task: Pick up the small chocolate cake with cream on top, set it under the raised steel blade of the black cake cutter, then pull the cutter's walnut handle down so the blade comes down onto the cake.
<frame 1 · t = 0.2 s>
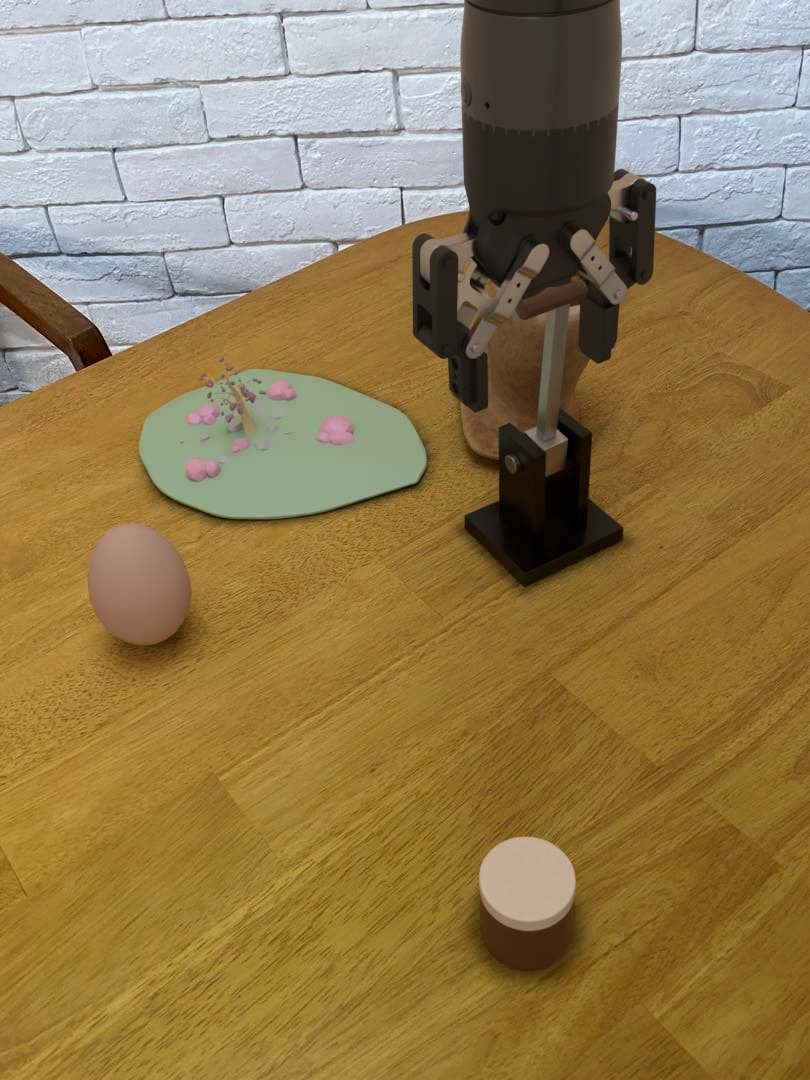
hand: (535, 379, 65), 21 cm above the table, tool pointing down, fingers open, 8 cm apart
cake: (526, 927, 62), on the table
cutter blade: (551, 381, 76), point 14 cm above the table, hinge at 85.0°
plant: (286, 445, 97), on the table
cutter: (542, 534, 86), on the table
stone cup: (528, 420, 98), on the table
seashell: (540, 282, 116), on the table
egg: (154, 635, 81), on the table
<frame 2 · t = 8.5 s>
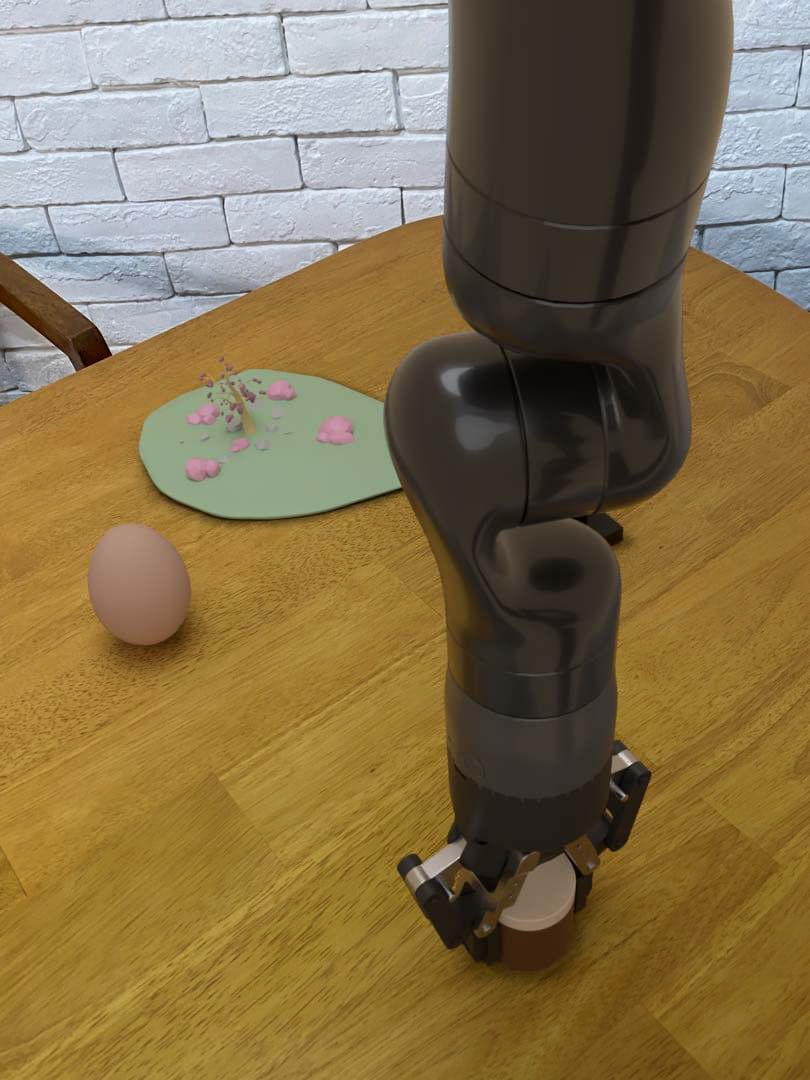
hand: (525, 923, 62), 0 cm above the table, tool pointing down, fingers closed on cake, 5 cm apart
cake: (526, 927, 62), on the table, touching gripper
everything else where it was.
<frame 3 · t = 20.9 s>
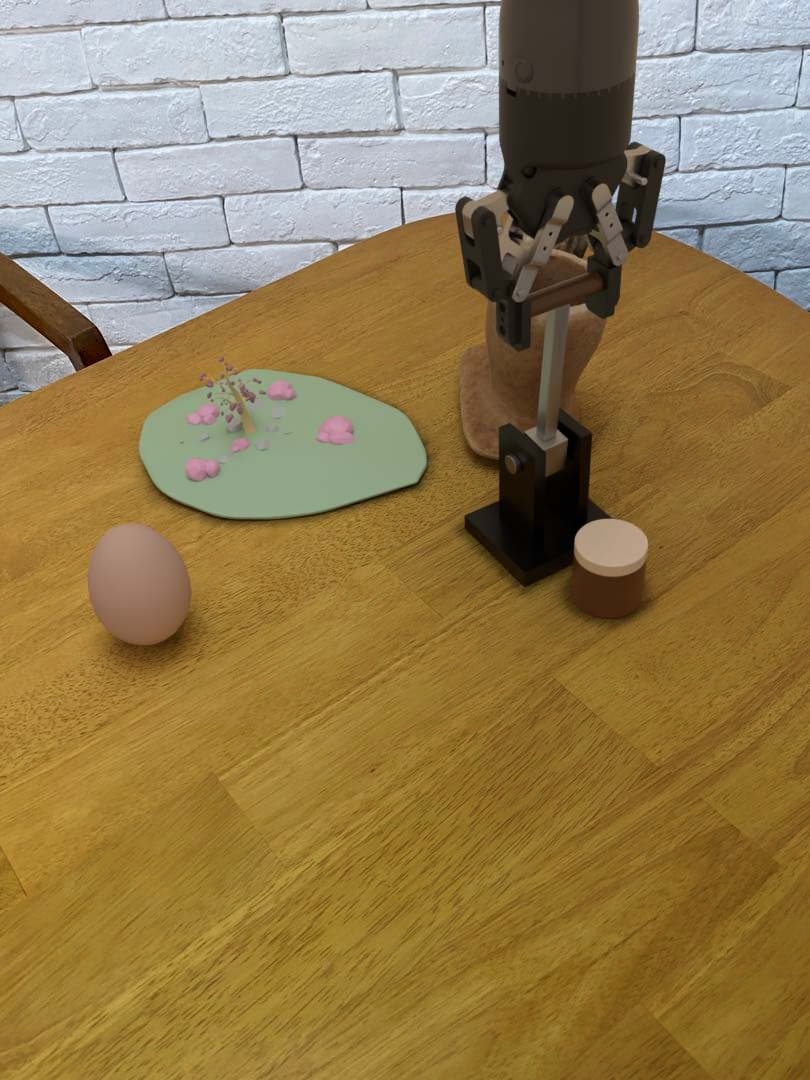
hand: (558, 328, 73), 19 cm above the table, tool pointing down, fingers closed on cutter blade, 6 cm apart
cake: (607, 594, 81), on the table
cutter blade: (551, 381, 76), point 14 cm above the table, hinge at 85.0°, touching gripper
everything else where it was.
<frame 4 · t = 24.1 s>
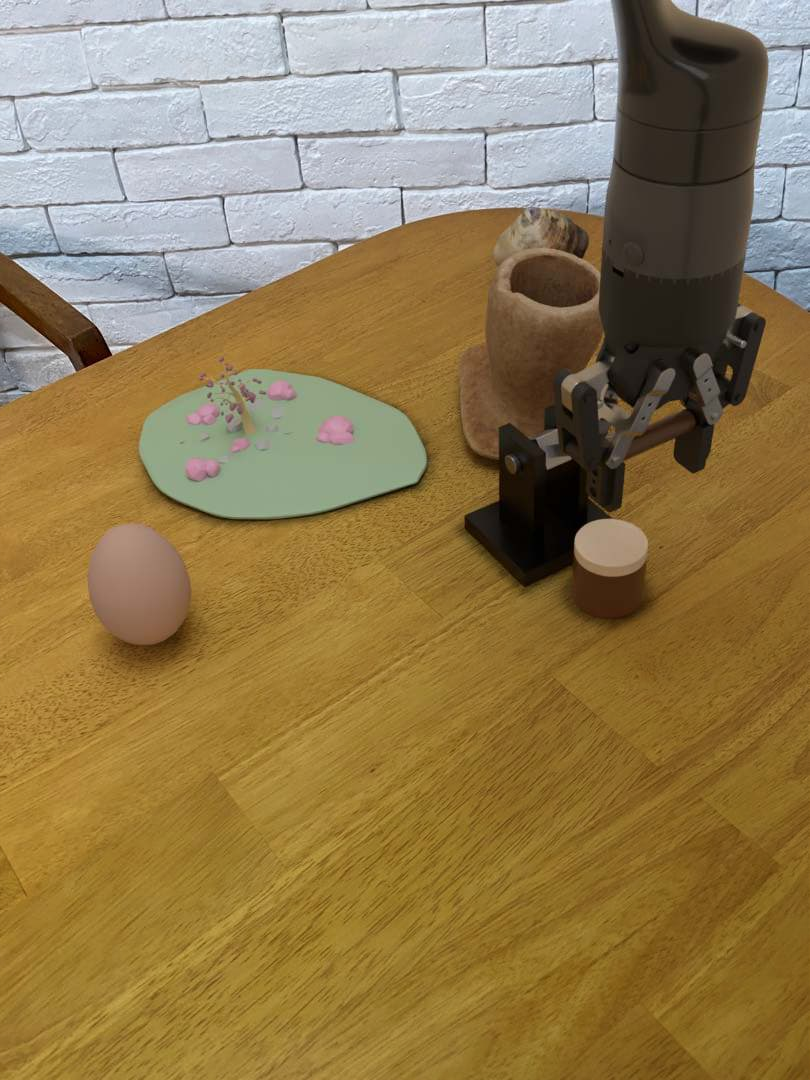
hand: (647, 483, 71), 12 cm above the table, tool pointing down, fingers closed on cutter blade, 6 cm apart
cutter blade: (590, 444, 75), point 12 cm above the table, hinge at 35.3°, touching gripper
everything else where it was.
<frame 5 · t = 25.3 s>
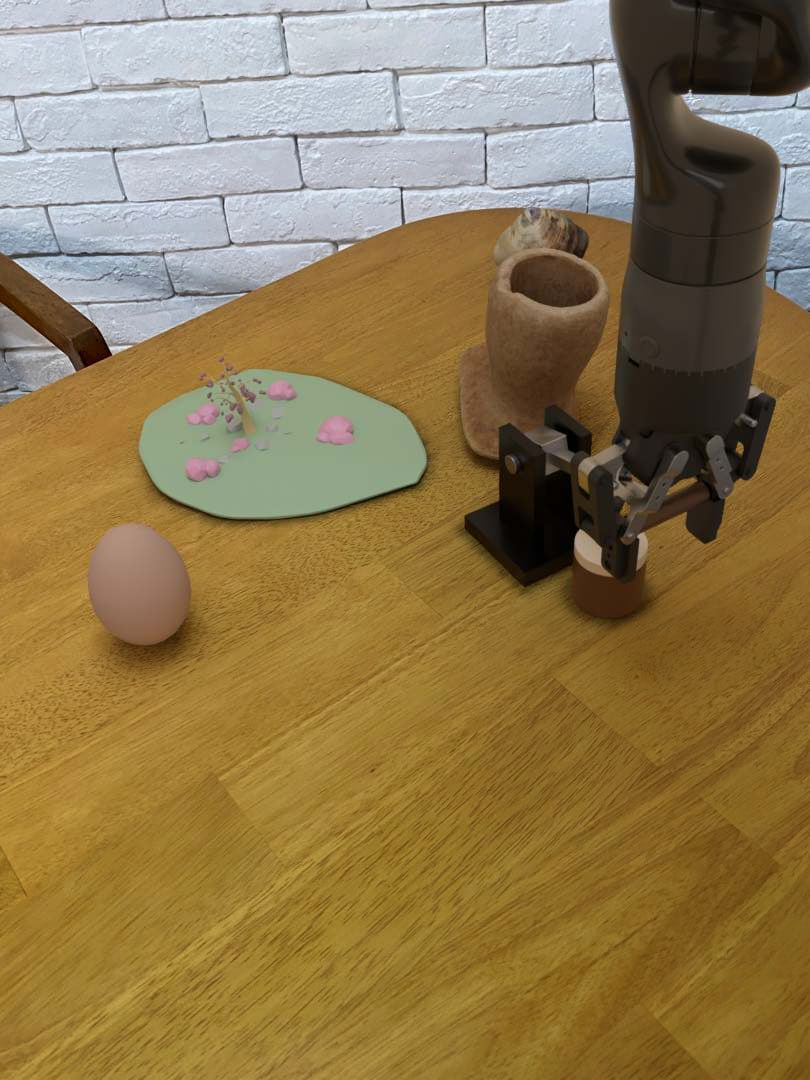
hand: (660, 554, 73), 7 cm above the table, tool pointing down, fingers closed on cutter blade, 6 cm apart
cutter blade: (597, 475, 76), point 9 cm above the table, hinge at 14.0°, touching gripper
everything else where it was.
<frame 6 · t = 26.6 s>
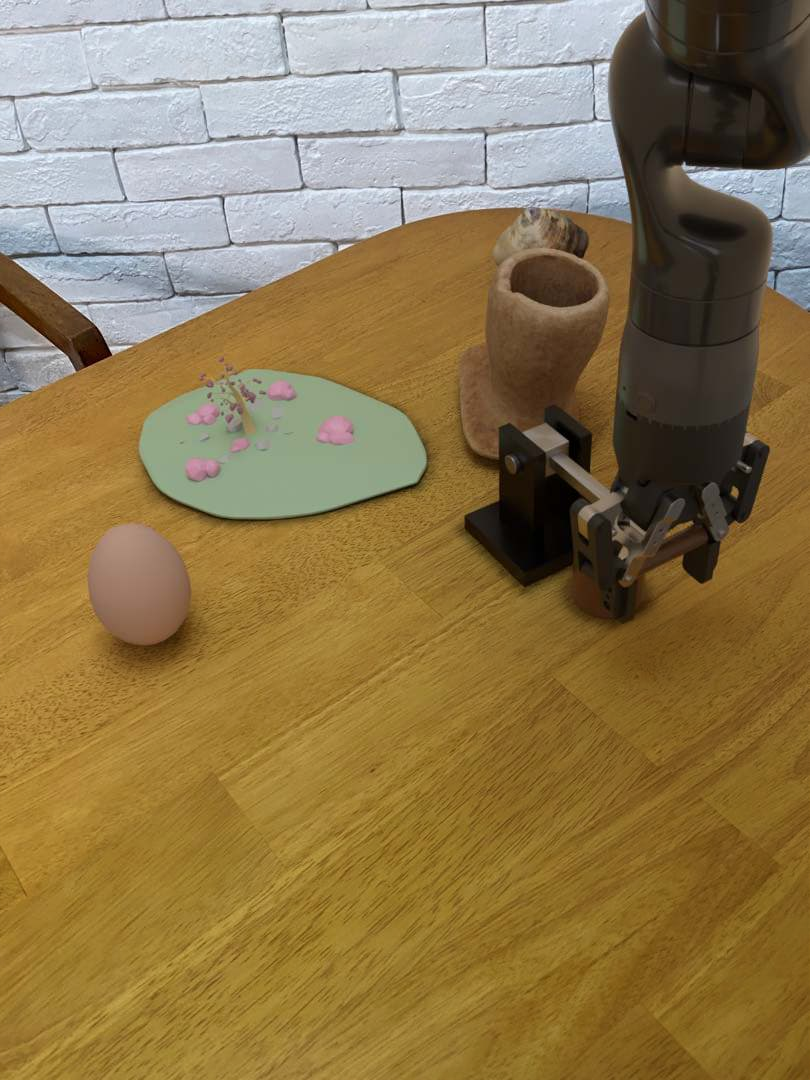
hand: (657, 594, 75), 4 cm above the table, tool pointing down, fingers closed on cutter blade, 6 cm apart
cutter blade: (598, 495, 77), point 8 cm above the table, hinge at -0.4°, touching gripper
everything else where it was.
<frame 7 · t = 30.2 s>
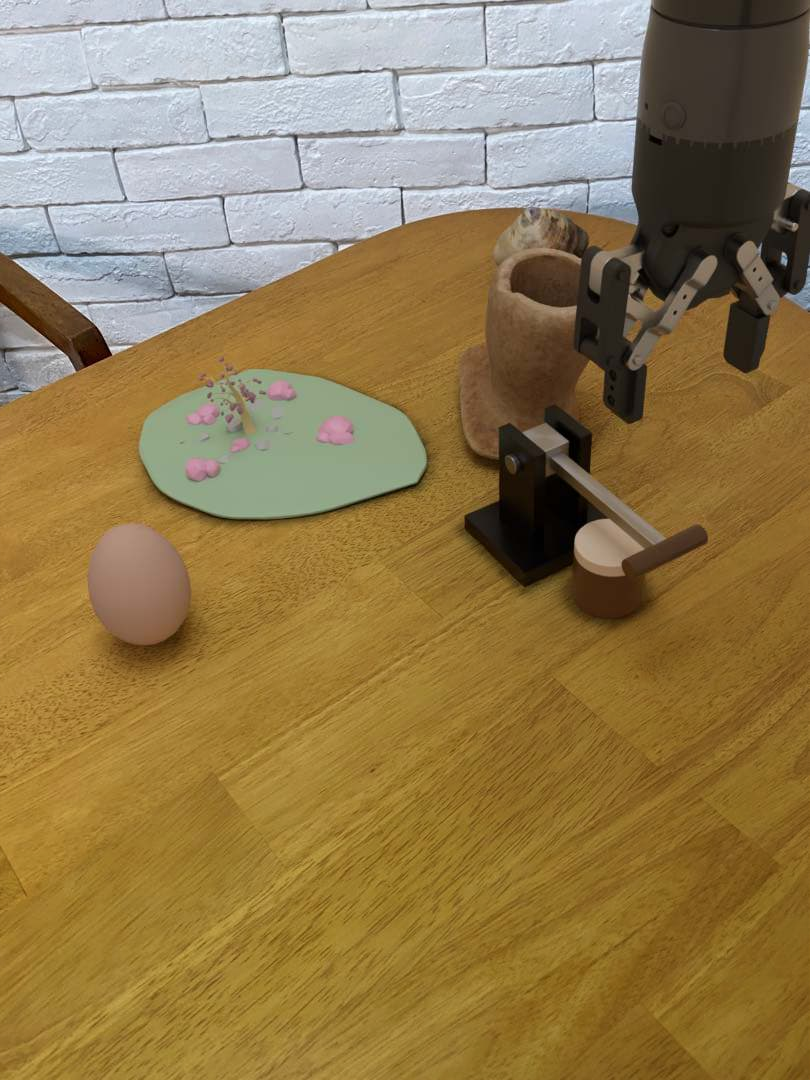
hand: (683, 390, 64), 20 cm above the table, tool pointing down, fingers open, 8 cm apart
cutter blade: (598, 495, 77), point 8 cm above the table, hinge at -0.8°
everything else where it was.
at the end: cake 0.1 cm from the target spot on the table beside the cutter, on the table; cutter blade at -1° (first picture: +85°); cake tilted 0° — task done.
